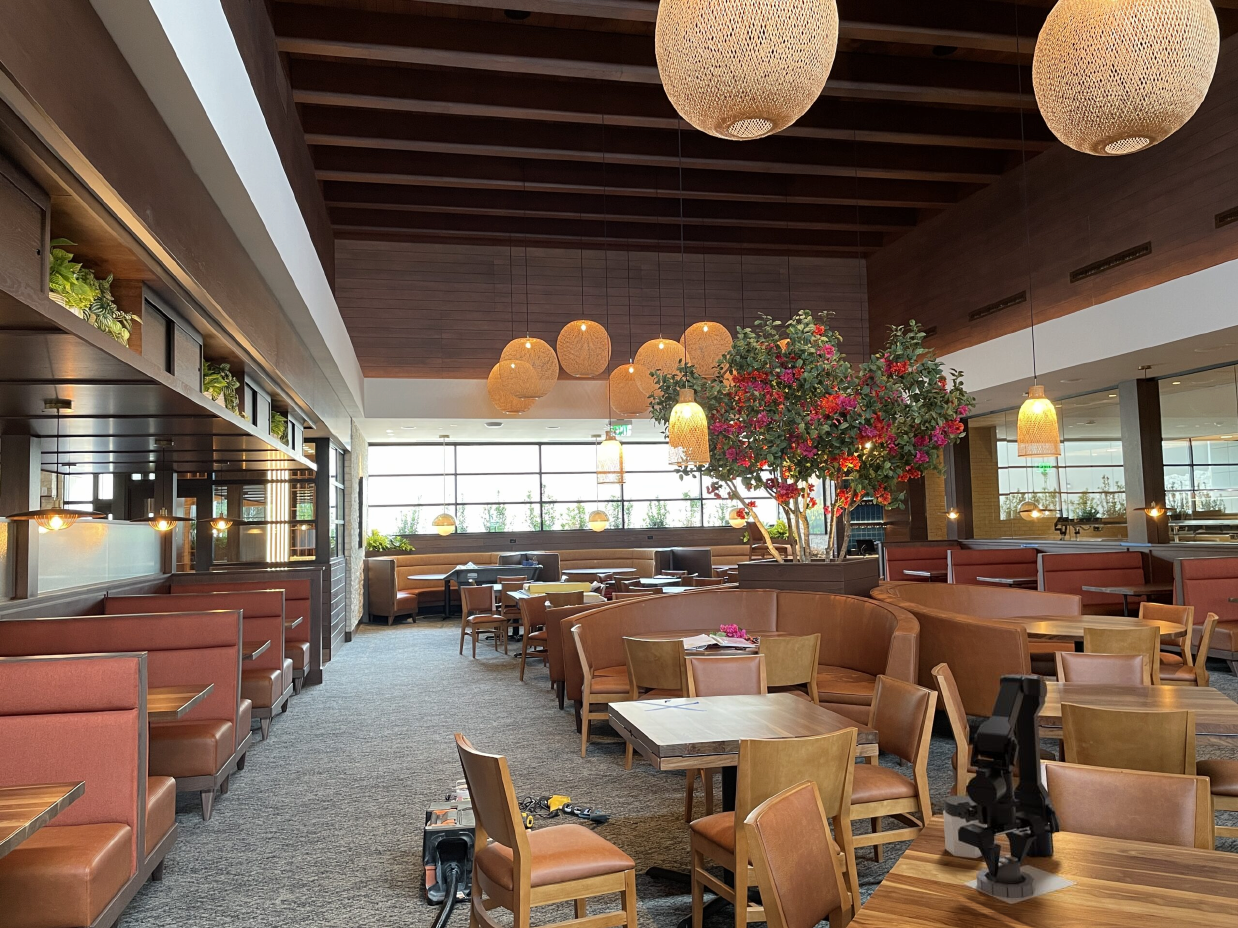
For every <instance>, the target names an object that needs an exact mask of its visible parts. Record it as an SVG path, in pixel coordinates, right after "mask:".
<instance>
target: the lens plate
mask: <svg viewBox="0 0 1238 928" xmlns="http://www.w3.org/2000/svg"><path fill="white" fill-rule="evenodd" d="M1020 869H1021V878H1022V883H1020V884H1001V883H995V882H993V881H990V878H989V870H988V868H983V869H980V870H978V872H977V873H976V874H975V875H976V879H973V880H970V881H967V882H963V883H962V884H963V885H965V886H967V887H970V888H973V889H974V890H977V891H979V892H981V893H983V894H986V895H989V896H991V897H993V898H996V899H998V900H1000V901H1003V902H1005V903H1008V904H1009V905H1012V904H1016V903H1019V902H1022V901H1026V900H1029V899H1033V898H1035V897H1038V896H1042V895H1045V894H1048V893H1052V892H1054V891H1059V890H1061V889H1065V888H1068V887H1071V886H1074V885H1078V884H1079V883H1078V882H1075V881H1072V880H1069V879H1067V878H1064V877H1062V876H1059V875H1056V874H1053V873H1052V872H1051V873H1050V872H1048V871H1045V870H1042V869H1040V868H1037V867H1035V866H1031V865H1029V864H1027V865H1023V866H1020Z"/></svg>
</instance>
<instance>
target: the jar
mask: <svg viewBox="0 0 1238 928" xmlns="http://www.w3.org/2000/svg"><path fill="white" fill-rule="evenodd" d="M943 800H944V801H943V802H944V804H943V805H944V810H943V811H942V814H943V829H944V841H945V842H944V843H945V850H946V851H948V852H949V853H950V854H951V855H953V856H954V857H963V858H973V859H977V858H980V857H983V856H982V854H981V852H980V850H979V849H978V848H977V847H974V846H972V845H969V844H966V843H964V842H961V841H958V829H959V828H960V827H961V826H965V825H969V824H976V825H979V826H981V827H984V828H985V827H987V825H986V824H980V823H979V822H978V820H975V821H970V822H968V823H966V820H965V819H961V818H959V815H958V812H957V803H961V802H966V801H968V802H969V803H970V805H972V804H976V803H974V802H973V801H972V800H971V799H970V797H969V795H951V796H948V797H946V798H944V799H943Z"/></svg>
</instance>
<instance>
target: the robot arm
mask: <svg viewBox="0 0 1238 928" xmlns="http://www.w3.org/2000/svg"><path fill="white" fill-rule="evenodd" d="M999 679H1000V680H999V690H998V694H997V697H996V699H995V702H994V705H993V709H992V712H991V714H990V717H989V719H988V720H986V721H984V722H982V723H981V724H980V726H979V727H978V730H977V732H976V734H974V736H973V743H972V749H971V756H970V761H969V766H970V767H973V768H977V769H976V770H975V776H973V777H972V778H970V779H969V781H968V783H967V785H966V786H967V787H966V792H967V796H969V797H970V799H971V800H972V801H973V802H974V803H976V804H972V805H970V803H969V802H968V801H966V802H961V803H957V812H958V815H959V818H961V819H965V820H966V823H968V822H970V821H975V820H978V822H979V823H980V824H986V827H985V828H984V827H981V826H979V825H976V824H969V825H965V826H961V827H960V828H959V829H958V841H961V842H964V843H966V844H969V845H972V846H974V847H977V848H978V849H979V850H980V852H981V854H982V856H981V857H983V860H984V863H985V866H986V867H987V868H988V870H989V872H990V875H991V876H993V877H996V876H997V871H998V865H999V857H1000V855H1001V850H1002V845H1001V844H997V843H996V837H997V836H1000V835H1005V837H1006V838H1007V840H1008V843H1009V851H1010V856H1012V857H1015V858H1018V860H1019V862H1020V867H1022V864H1023V861H1024V859H1025V857H1028V858H1030V859H1031V858H1049V857H1051V856H1053V853H1054V839H1053V835H1055V834H1056V833H1060V832H1061V828H1060V826H1061V825H1060V820H1059V819H1060V818H1059V816H1058V813H1057V812H1056V809H1055V807H1054V805H1053V804H1052V799H1051V794H1050V793H1049V791H1048V789H1047V788H1046V787H1045V785H1044V784H1043V781H1042V780H1043V779H1042V763H1041V745H1040V729H1039V727H1040V726H1039V725H1040V724H1039V715H1040V713H1041V711H1042V709H1043V708H1044V706H1045V704H1046V697H1047V695H1048V684H1047V682H1046V680H1043V679H1042V678H1041V676H1040V675H1034V674H1031V675H1030V674H1016V673H1015V674H1014V673H1011V674H1004V675H1001V677H1000V678H999ZM1015 727H1016V735H1015V733H1014V729H1015ZM979 757H980V758H979ZM1016 764H1017V766H1018V784H1017V785H1016V787H1015V788H1014V777H1013V769H1014V767H1016Z"/></svg>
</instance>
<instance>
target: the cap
mask: <svg viewBox="0 0 1238 928" xmlns="http://www.w3.org/2000/svg"><path fill="white" fill-rule="evenodd" d="M1020 867H1021V866H1020V862H1019V860H1018V858H1015V857H1012V856H1011V854H1010V855H1009V854H1006V855H1001V854H1000V857H999V865H998V871H997V876H996V877H993V876H991V875H990V872H989V878H990V881H993V882H995V883H1001V884H1020V883H1022V878H1021V869H1020Z"/></svg>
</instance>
